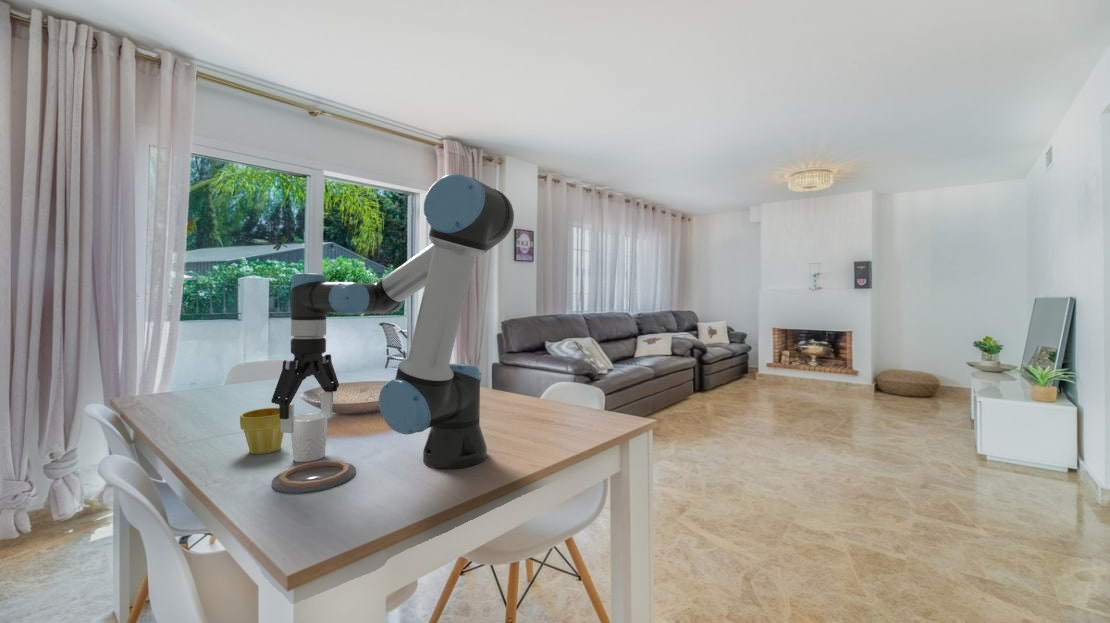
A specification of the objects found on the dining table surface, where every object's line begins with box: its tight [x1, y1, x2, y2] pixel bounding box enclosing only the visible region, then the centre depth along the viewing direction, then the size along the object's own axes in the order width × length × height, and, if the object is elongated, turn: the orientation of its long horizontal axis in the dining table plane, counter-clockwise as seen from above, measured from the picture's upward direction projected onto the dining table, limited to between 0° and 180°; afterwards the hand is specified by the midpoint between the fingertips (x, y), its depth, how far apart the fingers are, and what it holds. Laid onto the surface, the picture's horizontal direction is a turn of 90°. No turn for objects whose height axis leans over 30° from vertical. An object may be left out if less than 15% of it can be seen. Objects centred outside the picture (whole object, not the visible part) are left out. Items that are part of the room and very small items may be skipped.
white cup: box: [290, 412, 328, 463], centre depth 110 cm, size 8×8×10 cm
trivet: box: [271, 459, 357, 494], centre depth 98 cm, size 16×16×1 cm
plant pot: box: [239, 407, 284, 455], centre depth 115 cm, size 10×10×10 cm
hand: (307, 424), depth 110 cm, fingers open, 13 cm apart
